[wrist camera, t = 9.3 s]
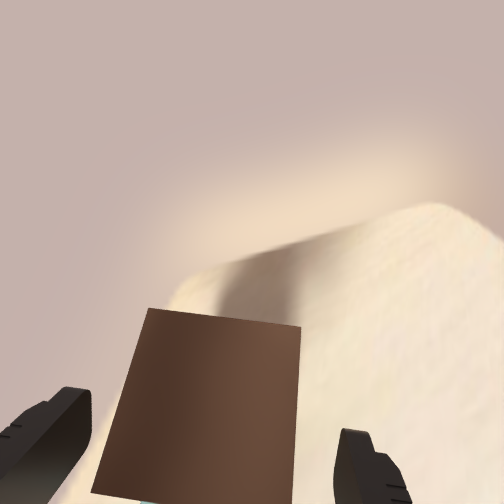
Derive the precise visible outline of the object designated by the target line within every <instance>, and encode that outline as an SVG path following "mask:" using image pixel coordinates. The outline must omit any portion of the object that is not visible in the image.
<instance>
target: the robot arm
mask: <svg viewBox="0 0 504 504" xmlns="http://www.w3.org/2000/svg"><path fill="white" fill-rule="evenodd" d="M91 405H92V403H91V392H90V391H89V390H86V389H80V388H73V387H63V388H62V389H61V390H60V391H59V392H58V393H57V394H56V395H55V396H53V397H52V398H51V399H50V400H49V401H48V402H47V401H42V402H40V403H38V404H37V405H35V406H33V407H31V408H29V409H27V410H26V411H24V412H23V413H22V414H21V415H20V416H19V417H18V418H16V419H15V420H14V421H13V422H12V423H11V424H10V426H9V427H6V428H5V429H4V430H3V431H2V432H1V433H0V504H47V503H48V502H49V500H50V499H51V498H52V496H53V495H54V494H55V492H56V491H57V490H58V488H59V487H60V485H61V484H62V483H63V481H64V480H65V479H66V477H67V476H68V474H69V473H70V472H71V470H72V469H73V467H74V466H75V465H76V463H77V462H78V461H79V459H80V458H81V456H82V455H83V454H84V452H85V450H86V449H87V447H88V444H89V441H90V438H91V433H92V411H91V409H92V408H91V407H92V406H91ZM333 488H334V497H335V504H412V500H411V498H410V495H409V492H408V491H407V490H406V485H405V482H404V480H403V477H402V475H401V472H400V470H399V468H398V467H397V466H396V465H395V463H394V462H393V461H392V460H391V459H390V457H389V456H388V455H387V454H385V453H378V452H375V450H374V447H373V444H372V441H371V438H370V435H369V433H368V432H366V431H359V430H352V429H345V428H343V429H342V430H341V434H340V439H339V445H338V450H337V456H336V461H335V467H334V476H333Z"/></svg>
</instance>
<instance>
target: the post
mask: <svg viewBox="0 0 504 504" xmlns="http://www.w3.org/2000/svg"><path fill="white" fill-rule="evenodd" d="M300 342H301V327H297V326H289V325H281V324H273V323H265V322H257V321H249V320H241V319H233V318H225V317H217V316H209V315H202V314H194V313H186V312H178V311H170V310H162V309H154V308H148V311H147V314H146V318H145V320H144V324H143V327H142V330H141V333H140V337H139V340H138V343H137V346H136V349H135V353H134V355H133V359H132V362H131V365H130V368H129V371H128V375H127V378H126V381H125V384H124V387H123V391H122V394H121V397H120V400H119V403H118V406H117V410H116V413H115V416H114V419H113V422H112V426H111V429H110V432H109V435H108V438H107V441H106V445H105V448H104V451H103V454H102V457H101V461H100V464H99V467H98V470H97V473H96V477H95V480H94V483H93V486H92V489H91V492H90V493H95V494H101V495H107V496H113V497H119V498H125V499H131V500H138V501H144V502H150V503H156V504H292V489H293V471H294V452H295V434H296V415H297V397H298V378H299V360H300Z"/></svg>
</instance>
